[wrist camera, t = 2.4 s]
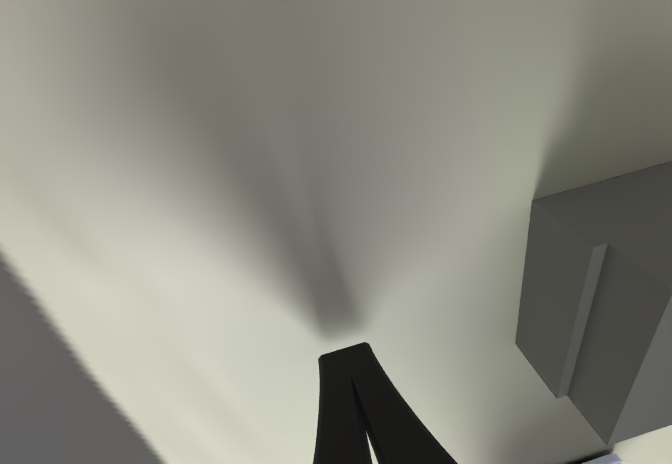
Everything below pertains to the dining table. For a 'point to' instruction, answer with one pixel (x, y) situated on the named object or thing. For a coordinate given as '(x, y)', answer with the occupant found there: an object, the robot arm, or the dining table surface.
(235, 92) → the dining table surface
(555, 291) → the block
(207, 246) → the dining table surface
